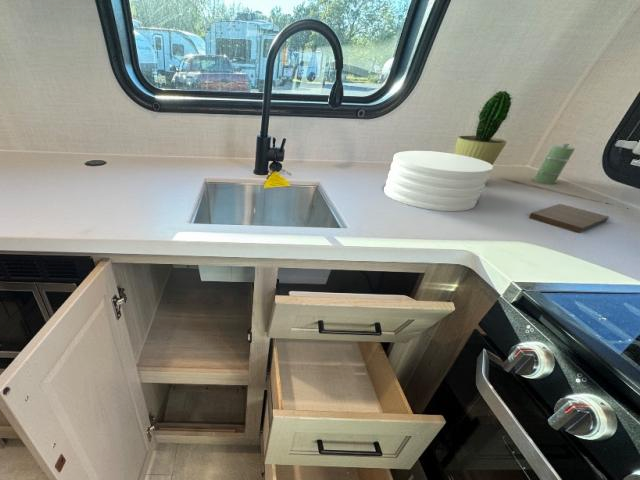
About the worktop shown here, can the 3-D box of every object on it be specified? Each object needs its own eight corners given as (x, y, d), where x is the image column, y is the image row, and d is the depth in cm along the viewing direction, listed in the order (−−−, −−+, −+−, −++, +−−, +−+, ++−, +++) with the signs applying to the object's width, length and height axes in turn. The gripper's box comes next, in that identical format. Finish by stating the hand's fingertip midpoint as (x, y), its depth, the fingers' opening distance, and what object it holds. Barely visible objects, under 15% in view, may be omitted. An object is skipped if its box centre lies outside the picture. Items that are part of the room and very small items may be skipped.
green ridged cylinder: (554, 183, 123) (579, 143, 114) (552, 187, 119) (577, 146, 110) (533, 180, 126) (555, 141, 118) (530, 183, 123) (552, 143, 114)
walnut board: (556, 208, 100) (559, 203, 99) (605, 221, 91) (609, 216, 90) (528, 217, 92) (531, 212, 92) (579, 233, 84) (582, 227, 83)
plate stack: (496, 207, 99) (516, 169, 92) (423, 214, 92) (439, 174, 86) (430, 181, 121) (442, 149, 114) (367, 186, 114) (376, 152, 107)
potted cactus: (438, 173, 131) (471, 86, 113) (479, 177, 128) (520, 88, 110) (446, 184, 119) (485, 88, 101) (492, 188, 116) (541, 90, 98)
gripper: (684, 133, 102) (625, 127, 110) (689, 140, 90) (622, 133, 98) (668, 154, 106) (612, 147, 114) (671, 163, 94) (608, 155, 102)
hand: (617, 141), depth 106 cm, fingers open, 8 cm apart
